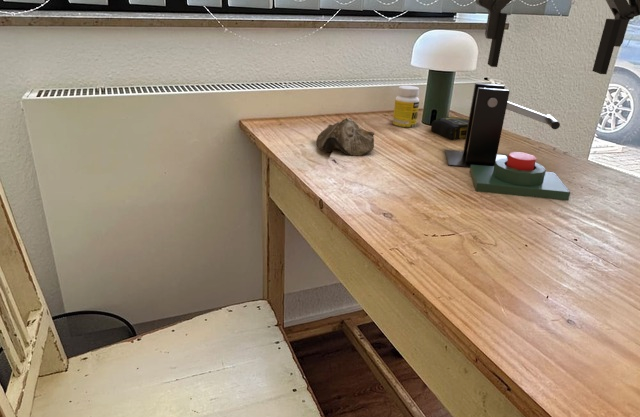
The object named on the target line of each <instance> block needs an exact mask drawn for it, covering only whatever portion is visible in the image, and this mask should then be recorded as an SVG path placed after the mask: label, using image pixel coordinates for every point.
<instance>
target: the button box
mask: <svg viewBox="0 0 640 417" xmlns="http://www.w3.org/2000/svg"><path fill="white" fill-rule="evenodd" d="M507 160H508V157H507V158H502V159H499V160H497V161H495V165H494V167H492V166H481V165H471V166H470V168H469V175H470V178H471V181H472V185H473V187H474V191H475V192H478V193H488V194H489V193H490V194H499V195H507V196H516V197H517V196H518V197H528V198H537V199H546V200H547V199H548V200H557V201H569V199H570V196H571V191H570V189H568V187H567V186H566V185H565V183H564V182H563V180H562V179H561V178H560V177H559V176H558V175H557V174H556V173H555V172H553V171H547V169H546V168H545V167H544V165H542V164H541V163H538V162H535V166H534V170H529V171H526V170H518V169H514V168H510V167H508V166H506V164H507Z"/></svg>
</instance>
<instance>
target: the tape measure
mask: <svg viewBox="0 0 640 417" xmlns="http://www.w3.org/2000/svg"><path fill="white" fill-rule="evenodd" d="M468 121H469V118H464V117H460V116H445V117H441V118H438V119H434V120H433V121H432V122H431V126H430V130H431V132H432V133H434V134H436V135H439V136H441V137H443V138H446V139H448V140H450V141H456V140H465V138H466V132H467V127H468Z"/></svg>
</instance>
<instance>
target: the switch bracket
mask: <svg viewBox="0 0 640 417" xmlns="http://www.w3.org/2000/svg"><path fill="white" fill-rule="evenodd" d="M483 87H485V88H483ZM510 93H511V91H510V90H509V89H506V85H504V84H492V83H481V82H480V83H479V82H475V83H474V86H473V92H472V98H471V103H470V109H469V116H468V120H469V121H468V127H467V132H466V138H465V139H464V145H463V150H450V149H445V150H444V154H445V158H446V162H447V166H448V167H454V168H455V167H457V168H467V169H470V166H471V165H481V166H492V167H494V165H495V161H497V160H499V159H502V158H508V156H507V155H506V154H498V151H499V146H500V141H501V136H502V132H503V127H504V121H505V116H506V112H507V109H506V107H507V102H509V97H510Z"/></svg>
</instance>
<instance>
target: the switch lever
mask: <svg viewBox="0 0 640 417" xmlns="http://www.w3.org/2000/svg"><path fill="white" fill-rule="evenodd" d="M483 88H485V87H483ZM506 110H507V111H511V112H513V113H515V114H519V115H521V116H525V117H527V118H530V119H532V120H535V121H538V122H541V123H543V124H545V125H548V126H549V127H550V128H551V129H552V130H558V129H559V128H560V127H561V123H560V122H559V121H558V119H555V117H554V116H552V115H551V114H549V113H547V114H543V113H541V112H538V111H535V110H533V109H530V108H527V107H525V106H522V105H519V104H516V103H513V102H510V101H508V102H507V107H506Z"/></svg>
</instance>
